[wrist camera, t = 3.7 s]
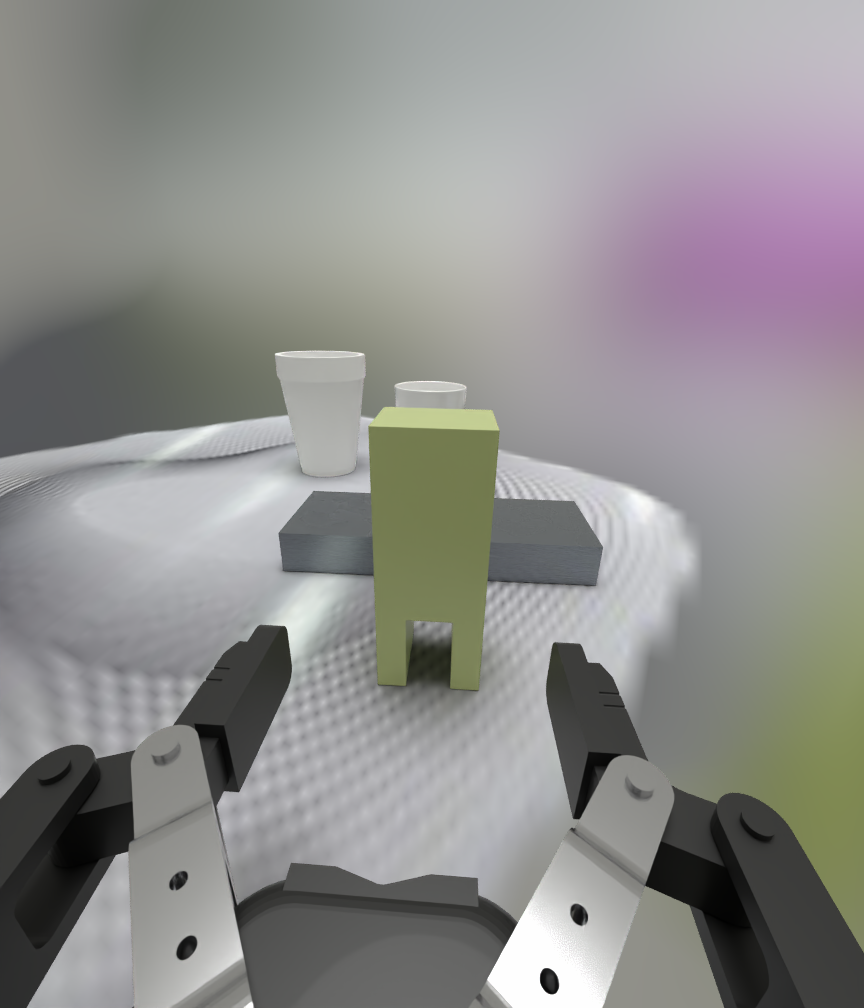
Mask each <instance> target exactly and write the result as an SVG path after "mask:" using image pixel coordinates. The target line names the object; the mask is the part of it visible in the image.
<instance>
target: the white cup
mask: <svg viewBox="0 0 864 1008" xmlns="http://www.w3.org/2000/svg"><path fill="white" fill-rule="evenodd" d="M466 389H467V387H466V386H465V385H462V384H457V383H451V382H438V381H415V382H414V381H413V382H403V383H398V384H396V385H395V400H396V407H405V408H437V409H465V399H466Z"/></svg>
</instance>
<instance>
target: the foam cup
mask: <svg viewBox="0 0 864 1008" xmlns="http://www.w3.org/2000/svg"><path fill="white" fill-rule="evenodd" d="M275 360H276V369H277V377H278V378H279V379H280V381H281V386H282V390H283V394H284V398H285V402H286V406H287V411H288V415H289V419H290V423H291V428H292V432H293V436H294V440H295V444H296V449H297V453H298V457H299V461H300V465H301V468H302V471H303V473H304V474H307V475H309V476H315V477H336V476H341V475H346V474H348V473H351V472H353V471H354V470H355V468H356V462H357V450H358V439H359V427H360V416H361V403H362V392H363V380H364V377H366V372H365V354H362V353H356V352H343V351H293V352H281V353H276V354H275Z"/></svg>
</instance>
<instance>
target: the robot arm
mask: <svg viewBox="0 0 864 1008" xmlns="http://www.w3.org/2000/svg"><path fill="white" fill-rule="evenodd" d="M291 673H292V663H291V656H290V648H289V640H288V633H287V629H286V627H285V626H272V625H259V626H258V627H257V628H256V629H255V631H254V633H253V634H252V636H251V637H250V639H249V640H248V642H243V641H239V642H238V643H236V644H235V645H234V646H233V647H231V648H230V649H229V650H227V651H226V652H225V653H224V654H223V655H222V657H221V658H220V659H219V661H218V662H217V664H216V665H215V667H214V670H212V671H211V672H210V674H209V675H208V677H207V678H206V681H204V682H203V684H202V685H201V686H200V688H199V689H198V691H197V692H196V694H195V695H194V696H193V698H192V699H191V701H190V702H189V704H188V705H187V706H186V708H185V709H184V711H183V712H182V713H181V715H180V716H179V718H178V719H177V721H176V722H175V723H174V725H173V726H169V727H166V728H163V729H161V730H159V731H157V732H155V733H154V734H152V735H151V736H149V737H148V738H147V739H145V740H144V741H143V742H142V743H141V744H140V745H139V746H138V748H137V749H136V750H134V751H130V752H126V753H121V754H117V755H112V756H107V757H103V758H98V759H96V758H95V755H94V753H93V751H92V749H91V748H89V747H88V746H85V745H70V746H66V747H63V748H60V749H57V750H55V751H53V752H51V753H49V754H47V755H45V756H43V757H42V758H40V759H39V760H37V761H36V762H35V763H34V764H32V765H31V766H30V767H29V768H28V769H27V770H26V771H25V772H24V773H23V774H22V775H21V776H20V778H19V779H18V780H17V781H16V782H15V783H14V784H13V785H12V787H11V788H10V789H9V790H8V791H7V792H6V793H5V794H4V796H3V797H2V798H1V799H0V1008H27V1006H28V1004H29V1002H30V1001H31V999H32V997H33V996H34V994H35V992H36V991H37V989H38V987H39V985H40V984H41V982H42V980H43V979H44V977H45V975H46V973H47V972H48V970H49V968H50V967H51V965H52V963H53V961H54V960H55V958H56V956H57V955H58V953H59V951H60V950H61V948H62V946H63V944H64V943H65V941H66V939H67V938H68V936H69V934H70V932H71V931H72V929H73V927H74V926H75V924H76V922H77V920H78V919H79V917H80V915H81V914H82V912H83V910H84V909H85V907H86V905H87V903H88V902H89V900H90V898H91V897H92V895H93V893H94V891H95V890H96V888H97V886H98V885H99V883H100V881H101V879H102V878H103V876H104V874H105V873H106V871H107V869H108V868H109V866H110V864H111V862H112V861H113V859H114V857H115V856H116V855H117V854H121V853H125V852H128V851H129V882H130V909H131V936H132V963H133V990H134V1006H133V1007H132V1008H602V1007H603V1004H604V1001H605V998H606V996H607V993H608V990H609V987H610V984H611V982H612V978H613V976H614V973H615V970H616V967H617V964H618V962H619V959H620V956H621V953H622V950H623V947H624V944H625V942H626V938H627V936H628V933H629V930H630V927H631V924H632V921H633V919H634V916H635V913H636V910H637V907H638V904H639V901H640V899H641V896H642V893H643V890H644V887H645V886H647V887H649V888H652V889H654V890H656V891H659V892H661V893H663V894H665V895H667V896H670V897H672V898H674V899H677V900H679V901H681V902H683V903H686V904H688V905H690V908H691V911H692V914H693V917H694V919H695V923H696V926H697V928H698V931H699V934H700V937H701V940H702V943H703V946H704V949H705V952H706V955H707V958H708V961H709V964H710V967H711V970H712V972H713V976H714V979H715V981H716V985H717V987H718V990H719V993H720V996H721V999H722V1002H723V1005H724V1008H864V953H863V951H862V949H861V947H860V946H859V944H858V942H857V941H856V939H855V937H854V936H853V934H852V932H851V930H850V929H849V927H848V925H847V924H846V922H845V920H844V919H843V917H842V915H841V914H840V912H839V910H838V908H837V907H836V905H835V903H834V902H833V900H832V898H831V896H830V895H829V893H828V891H827V890H826V888H825V886H824V885H823V883H822V881H821V879H820V878H819V876H818V874H817V873H816V871H815V869H814V868H813V866H812V864H811V863H810V861H809V859H808V858H807V856H806V854H805V852H804V850H803V849H802V847H801V846H800V844H799V842H798V840H797V839H796V837H795V835H794V833H793V832H792V830H791V829H790V827H789V826H788V824H787V823H786V822H785V821H784V820H783V819H782V818H781V817H780V815H779V814H777V813H776V812H775V811H774V810H773V809H772V808H770V807H769V806H767V805H766V804H764V803H763V802H761V801H759V800H758V799H756V798H753V797H751V796H748V795H745V794H740V793H729V794H726V795H724V796H722V797H721V798H720V800H719V801H718V803H717V804H716V803H713V802H710V801H707V800H704V799H702V798H699V797H696V796H694V795H691V794H688V793H686V792H683V791H681V790H679V789H677V788H675V787H674V786H672V785H671V784H670V782H669V780H668V779H667V778H666V776H665V775H664V774H663V773H662V772H661V771H660V770H659V769H658V768H657V767H656V766H654V765H653V764H651V763H650V762H648V759H647V758H646V756H645V753H644V750H643V748H642V746H641V744H640V741H639V739H638V736H637V734H636V731H635V729H634V727H633V724H632V722H631V720H630V717H629V715H628V712H627V710H626V709H625V705H624V703H623V701H622V698H621V696H619V691H618V689H617V686H616V684H615V682H614V679H613V677H612V676H611V675H610V674H609V673H608V672H607V671H606V670H605V669H604V668H603V666H602V665H601V664H600V663H588V662H587V659H586V656H585V654H584V651H583V648H582V646H581V645H580V644H574V643H557V642H555V643H553V646H552V651H551V657H550V664H549V670H548V676H547V683H546V697H547V704H548V709H549V714H550V718H551V722H552V727H553V731H554V736H555V740H556V745H557V749H558V754H559V758H560V763H561V767H562V772H563V776H564V781H565V785H566V789H567V794H568V798H569V803H570V807H571V812H572V816H573V819H580V820H579V822H578V824H577V825H576V827H575V828H574V829H573V828H571V829H570V830H569V831H568V832H567V834H566V836H565V837H564V839H563V841H562V843H561V845H560V847H559V848H558V850H557V852H556V854H555V856H554V858H553V860H552V861H551V863H550V865H549V867H548V869H547V871H546V873H545V874H544V876H543V878H542V880H541V882H540V884H539V885H538V887H537V889H536V891H535V893H534V895H533V897H532V898H531V900H530V902H529V904H528V906H527V908H526V910H525V911H524V913H523V915H522V917H521V919H520V921H519V923H518V922H517V921H516V920H515V919H514V918H513V917H512V916H511V915H510V914H509V913H507V912H506V911H505V910H503V909H502V908H501V907H500V906H498V905H497V904H495V903H493V902H491V901H490V900H488V899H486V898H484V897H481V896H479V895H478V878H469V877H457V876H445V875H432V874H431V875H426V876H422V877H417V878H413V879H408V880H404V881H400V882H395V883H391V884H386V885H380V884H376V883H374V882H372V881H369V880H367V879H364V878H362V877H360V876H357V875H355V874H353V873H350V872H348V871H345V870H343V869H341V868H338V867H335V866H323V865H311V864H298V863H291V865H290V868H289V871H288V875H287V878H286V880H284V881H280V882H277V883H274V884H272V885H269V886H267V887H265V888H263V889H261V890H259V891H257V892H255V893H254V894H252V895H251V896H249V897H248V898H246V899H244V900H243V901H242V902H241V903H238V899H237V895H236V891H235V887H234V882H233V878H232V874H231V869H230V864H229V860H228V855H227V851H226V846H225V841H224V837H223V832H222V828H221V823H220V818H219V814H218V809H217V804H218V802H219V800H220V798H221V796H222V794H223V792H224V791H229V792H240V789H241V787H242V785H243V783H244V781H245V779H246V776H247V774H248V772H249V770H250V768H251V766H252V764H253V761H254V759H255V757H256V755H257V753H258V751H259V749H260V746H261V744H262V742H263V740H264V738H265V736H266V734H267V731H268V729H269V727H270V725H271V723H272V721H273V719H274V716H275V714H276V712H277V710H278V708H279V706H280V703H281V701H282V699H283V697H284V695H285V693H286V691H287V688H288V686H289V683H290V679H291Z"/></svg>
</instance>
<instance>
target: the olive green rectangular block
mask: <svg viewBox="0 0 864 1008" xmlns="http://www.w3.org/2000/svg"><path fill="white" fill-rule="evenodd" d="M368 427H369V454H370V482H371V509H372V537H373V564H374V592H375V619H376V646H377V674H378V685H395V686H406V682H407V675H408V668H409V661H410V654H411V647H412V640H413V631H414V621H430V622H450V623H452V634H451V675H450V689H464V690H479V679H480V666H481V654H482V642H483V629H484V617H485V604H486V592H487V579H488V567H489V555H490V542H491V530H492V517H493V505H494V493H495V480H496V468H497V455H498V443H499V428H498V425H497V422H496V419H495V417H494V414H493V411H492V410H470V409H469V410H468V409H437V408H405V407H384V408H383V409H382V411H381V412H380V413H379V414H378V416H377V417H376V418H375V419H374V420H373V421H372V423H371V424H370V425H369V426H368Z"/></svg>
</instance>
